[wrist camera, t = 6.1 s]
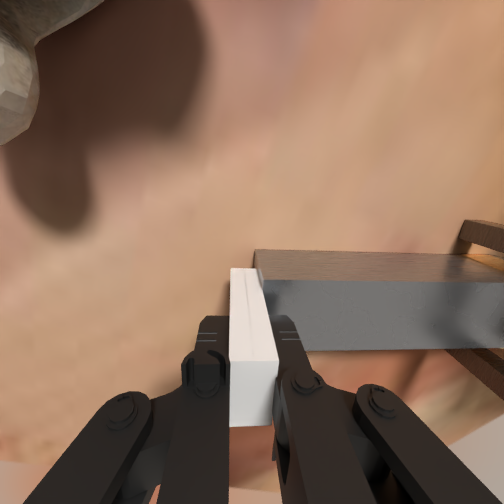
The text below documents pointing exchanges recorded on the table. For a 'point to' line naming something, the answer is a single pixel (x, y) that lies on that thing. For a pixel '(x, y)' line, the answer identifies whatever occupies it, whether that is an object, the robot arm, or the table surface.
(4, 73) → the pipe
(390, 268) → the grey sharpening stone
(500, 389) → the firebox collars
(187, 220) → the table surface
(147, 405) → the robot arm
